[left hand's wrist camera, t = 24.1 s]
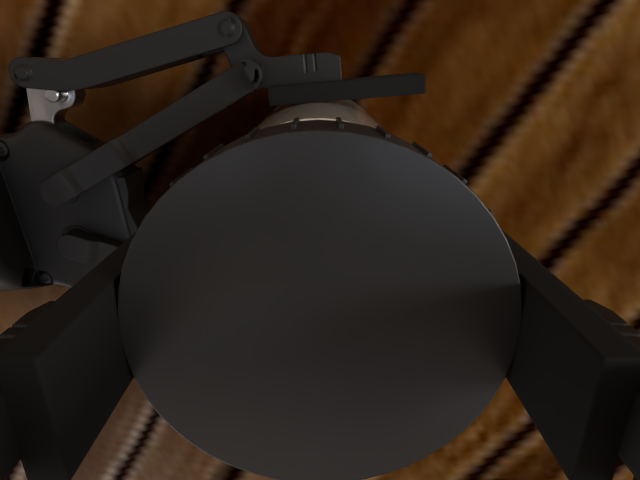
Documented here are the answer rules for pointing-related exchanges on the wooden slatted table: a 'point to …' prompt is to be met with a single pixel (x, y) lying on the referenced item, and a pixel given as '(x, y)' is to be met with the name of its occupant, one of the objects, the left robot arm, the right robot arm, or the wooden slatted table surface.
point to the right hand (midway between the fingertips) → (417, 181)
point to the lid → (319, 303)
